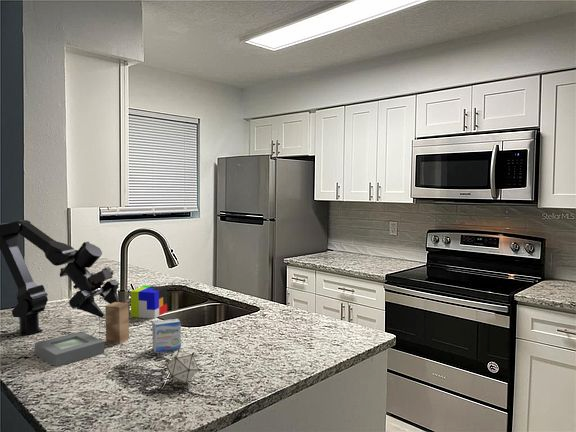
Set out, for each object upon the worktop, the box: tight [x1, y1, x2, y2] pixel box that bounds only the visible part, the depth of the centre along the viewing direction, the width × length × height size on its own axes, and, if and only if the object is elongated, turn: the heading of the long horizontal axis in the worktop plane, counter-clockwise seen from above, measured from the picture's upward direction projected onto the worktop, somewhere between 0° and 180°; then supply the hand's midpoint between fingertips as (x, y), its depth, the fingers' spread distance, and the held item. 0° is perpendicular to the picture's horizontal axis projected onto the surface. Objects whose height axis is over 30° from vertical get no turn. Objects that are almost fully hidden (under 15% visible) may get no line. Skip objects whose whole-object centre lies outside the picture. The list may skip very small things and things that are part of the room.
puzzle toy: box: [130, 285, 168, 320], centre depth 173 cm, size 10×10×10 cm
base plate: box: [34, 330, 105, 368], centre depth 132 cm, size 14×14×4 cm
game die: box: [163, 349, 203, 387], centre depth 113 cm, size 9×8×10 cm
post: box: [104, 301, 130, 345], centre depth 143 cm, size 5×5×12 cm
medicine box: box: [151, 318, 182, 354], centre depth 137 cm, size 8×4×9 cm, turn 117°
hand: (111, 312), depth 143 cm, fingers open, 9 cm apart
